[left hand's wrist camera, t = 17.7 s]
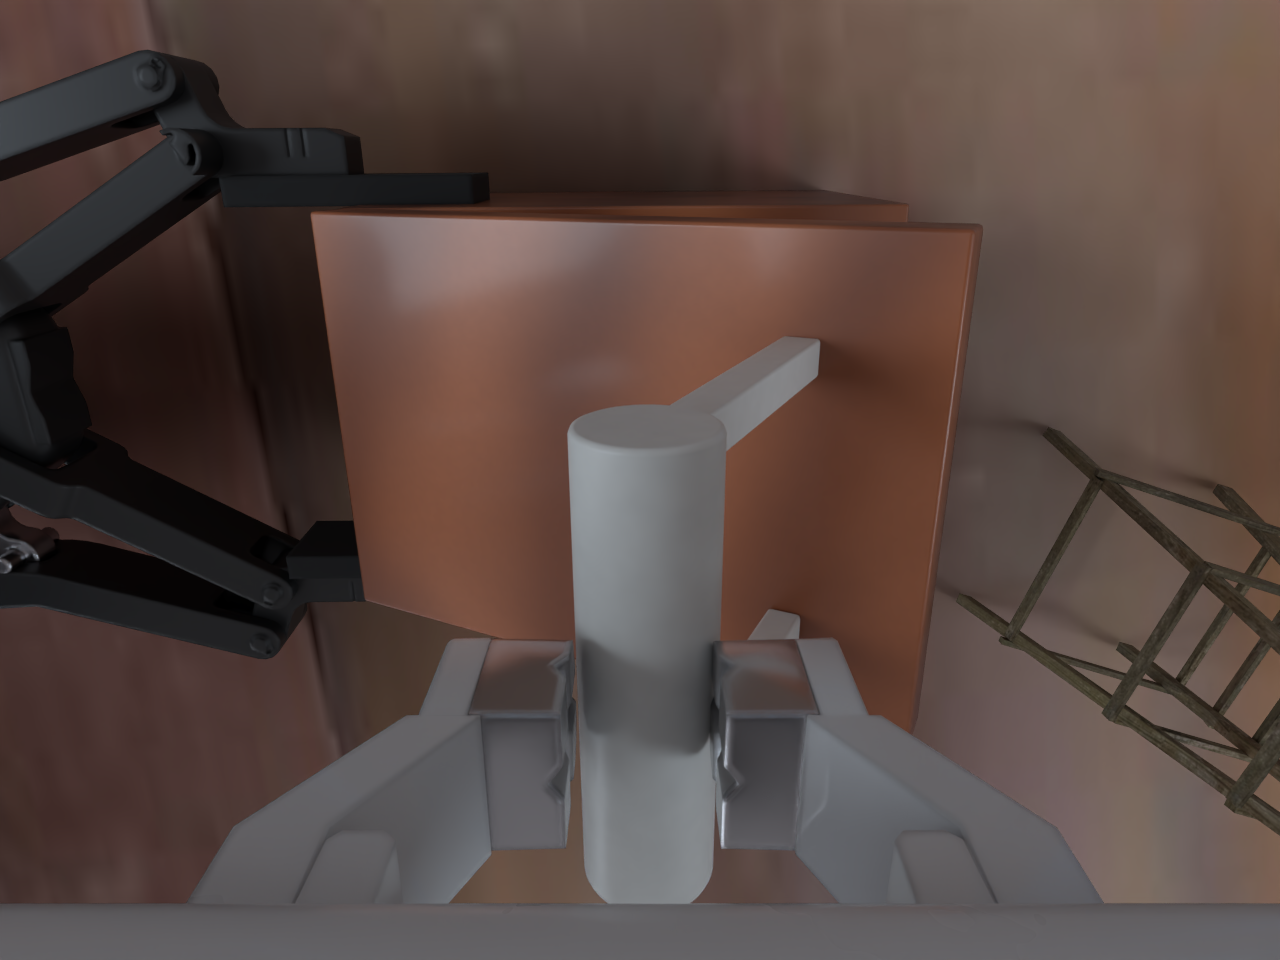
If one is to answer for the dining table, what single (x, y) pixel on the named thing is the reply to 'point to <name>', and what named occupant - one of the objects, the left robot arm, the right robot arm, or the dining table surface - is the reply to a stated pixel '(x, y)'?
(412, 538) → the wooden panel with handle
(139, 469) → the right robot arm
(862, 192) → the dining table surface
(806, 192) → the open box
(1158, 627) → the miniature windmill
